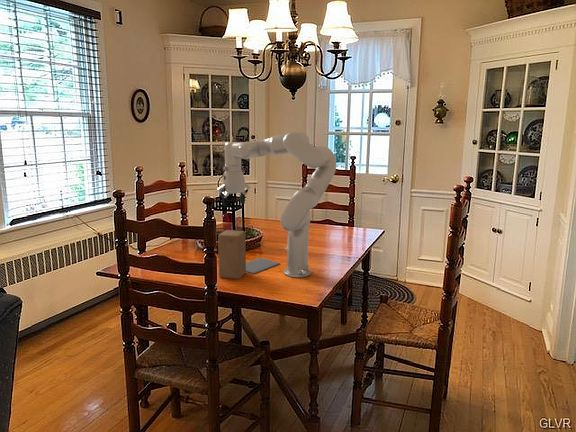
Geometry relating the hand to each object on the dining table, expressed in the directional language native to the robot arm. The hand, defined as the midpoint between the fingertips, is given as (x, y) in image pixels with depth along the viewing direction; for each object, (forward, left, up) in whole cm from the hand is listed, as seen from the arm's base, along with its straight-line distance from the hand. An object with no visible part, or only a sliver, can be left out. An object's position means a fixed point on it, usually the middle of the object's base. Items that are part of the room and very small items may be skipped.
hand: (234, 204), depth 217 cm
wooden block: (-14, +8, -30) cm, 34 cm away
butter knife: (+8, -34, -30) cm, 46 cm away
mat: (-8, -8, -30) cm, 32 cm away
